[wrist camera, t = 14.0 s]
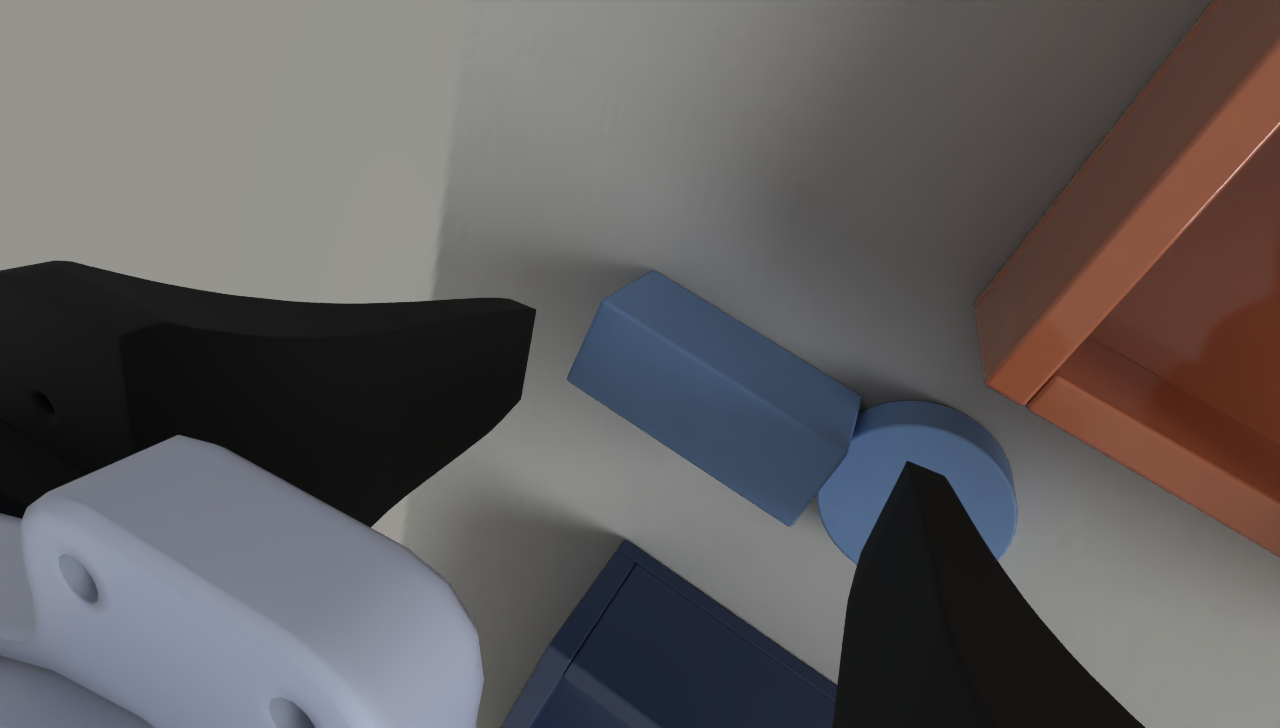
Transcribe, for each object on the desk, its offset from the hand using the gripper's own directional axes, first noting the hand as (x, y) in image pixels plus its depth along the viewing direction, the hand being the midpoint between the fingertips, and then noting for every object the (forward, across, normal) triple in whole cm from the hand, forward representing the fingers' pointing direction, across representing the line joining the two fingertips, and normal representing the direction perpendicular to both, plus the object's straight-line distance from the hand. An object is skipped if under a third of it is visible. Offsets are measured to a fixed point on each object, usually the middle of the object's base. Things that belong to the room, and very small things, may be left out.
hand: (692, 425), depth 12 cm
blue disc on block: (+3, -2, 0) cm, 3 cm away
